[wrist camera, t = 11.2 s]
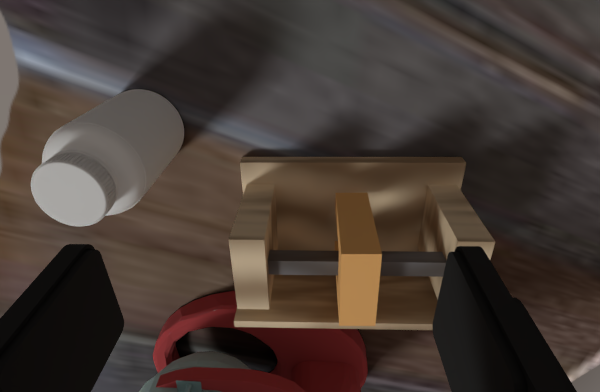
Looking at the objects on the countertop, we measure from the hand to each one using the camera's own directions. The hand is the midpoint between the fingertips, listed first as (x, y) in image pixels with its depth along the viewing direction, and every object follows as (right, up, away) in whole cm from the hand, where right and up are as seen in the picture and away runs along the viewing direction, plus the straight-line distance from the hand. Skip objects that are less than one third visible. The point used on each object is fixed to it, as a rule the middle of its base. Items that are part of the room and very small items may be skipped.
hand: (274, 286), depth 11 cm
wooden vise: (+6, +1, +34) cm, 34 cm away
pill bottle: (-15, +10, +30) cm, 35 cm away
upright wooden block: (+6, -1, +31) cm, 31 cm away
